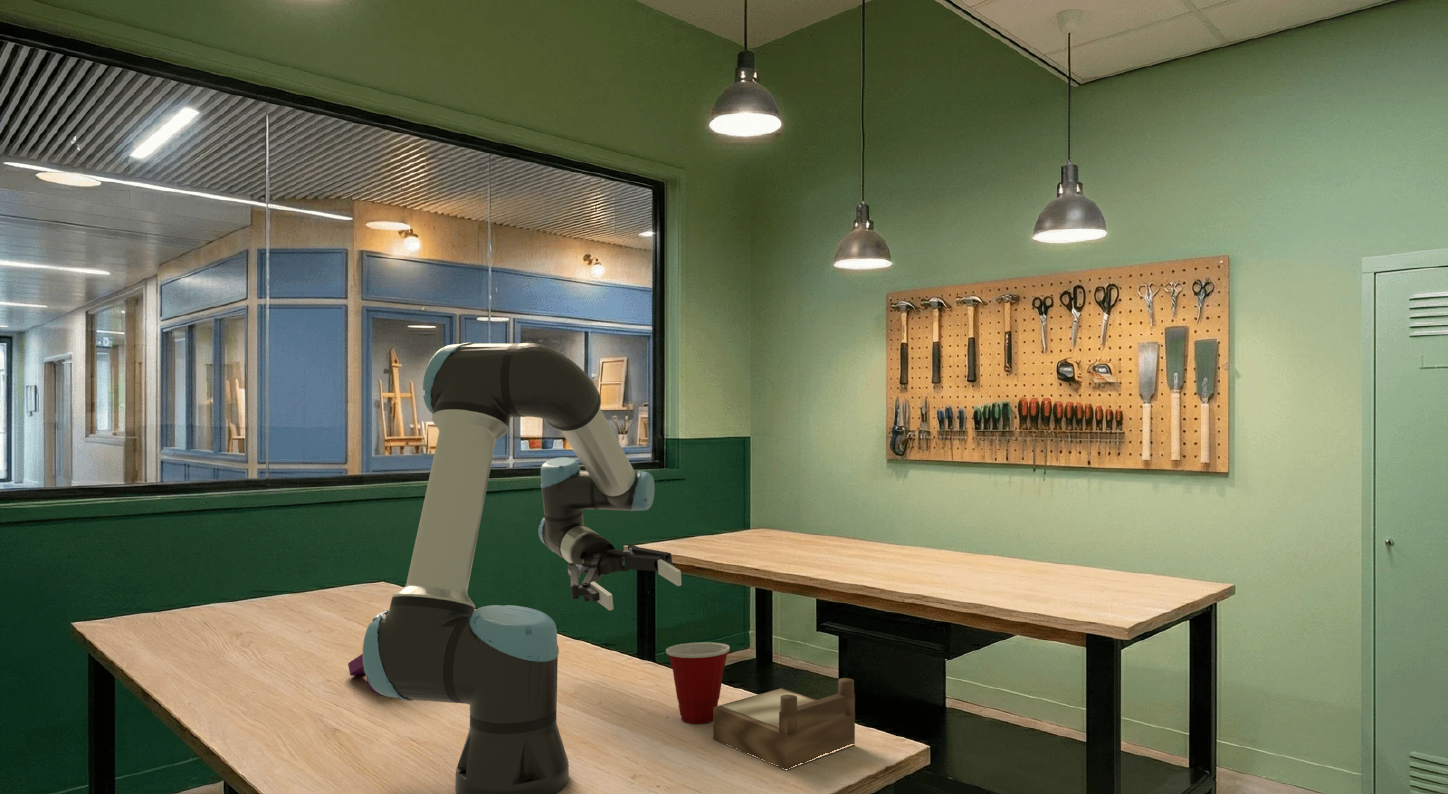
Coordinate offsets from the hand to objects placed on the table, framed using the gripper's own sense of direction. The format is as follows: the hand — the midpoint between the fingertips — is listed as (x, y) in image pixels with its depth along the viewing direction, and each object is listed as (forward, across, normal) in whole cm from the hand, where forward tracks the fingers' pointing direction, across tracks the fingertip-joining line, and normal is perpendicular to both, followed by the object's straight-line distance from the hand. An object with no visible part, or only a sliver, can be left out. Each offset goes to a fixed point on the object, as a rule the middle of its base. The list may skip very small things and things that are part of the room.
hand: (646, 590), depth 151 cm
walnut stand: (+28, -7, -18) cm, 33 cm away
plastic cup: (+11, -2, -20) cm, 23 cm away
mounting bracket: (-38, +36, -22) cm, 57 cm away
